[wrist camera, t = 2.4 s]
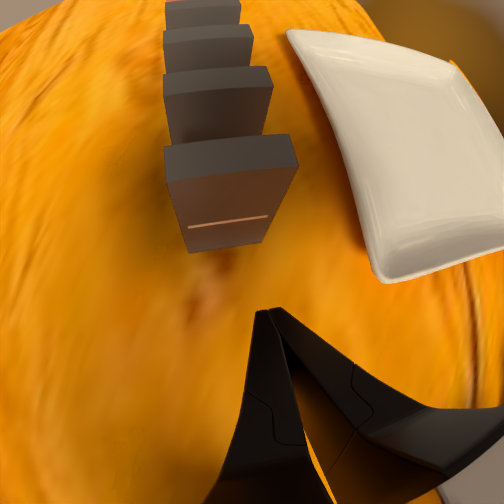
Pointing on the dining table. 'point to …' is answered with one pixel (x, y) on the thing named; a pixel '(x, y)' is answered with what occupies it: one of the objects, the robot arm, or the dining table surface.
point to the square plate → (409, 152)
